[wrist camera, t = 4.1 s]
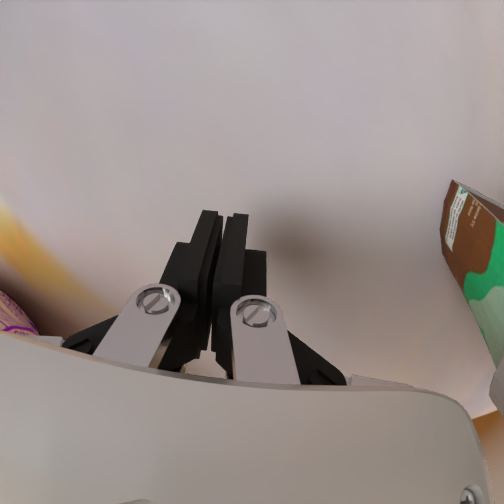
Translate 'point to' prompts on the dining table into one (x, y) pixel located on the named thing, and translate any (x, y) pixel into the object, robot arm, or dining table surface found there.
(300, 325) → the dining table surface
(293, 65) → the dining table surface
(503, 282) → the food container
